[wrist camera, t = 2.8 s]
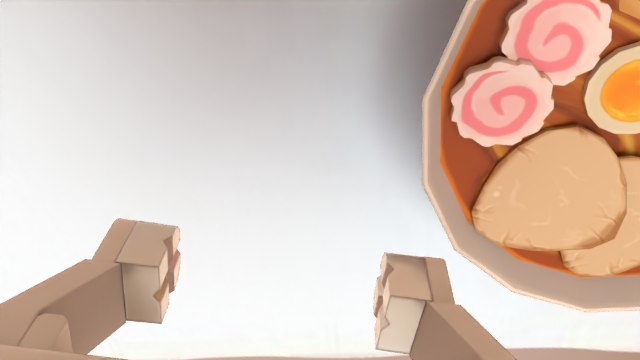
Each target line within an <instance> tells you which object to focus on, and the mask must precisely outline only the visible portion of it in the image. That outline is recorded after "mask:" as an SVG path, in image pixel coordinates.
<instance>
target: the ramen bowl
mask: <svg viewBox="0 0 640 360" xmlns="http://www.w3.org/2000/svg"><path fill="white" fill-rule="evenodd" d="M422 186H423V188H424V190H425V192H426V194H427V196H428V198H429V200H430V202H431V204H432V206H433V208H434V210H435V212H436V214H437V216H438V218H439V220H440V222H441V224H442V226H443V228H444V230H445V232H446V234H447V236H448V238H449V240H450V242H451V244H452V246H453V248H454V250H455V251H457V252H458V253H459V254H461V255H462V256H463V257H465V258H466V259H468V260H469V261H470V262H472V263H473V264H474V265H476V266H477V267H478V268H480V269H481V270H483V271H484V272H485V273H487V274H488V275H489V276H491V277H492V278H494V279H495V280H496V281H498V282H499V283H500V284H502V285H503V286H504V287H506V288H507V289H509V290H510V291H511V292H514V293H518V294H521V295H525V296H528V297H532V298H536V299H539V300H543V301H546V302H550V303H554V304H557V305H561V306H564V307H568V308H572V309H575V310H579V311H583V312H604V311H630V310H640V0H467V2H466V4H465V7H464V9H463V11H462V13H461V15H460V17H459V20H458V22H457V24H456V26H455V28H454V30H453V33H452V35H451V37H450V39H449V41H448V44H447V46H446V48H445V50H444V52H443V54H442V57H441V59H440V61H439V63H438V65H437V68H436V70H435V72H434V74H433V76H432V78H431V81H430V83H429V85H428V87H427V89H426V92H425V94H424V96H423V98H422Z"/></svg>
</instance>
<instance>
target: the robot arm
mask: <svg viewBox="0 0 640 360" xmlns="http://www.w3.org/2000/svg"><path fill="white" fill-rule="evenodd" d="M179 241H180V229H179V227H178V226H171V225H164V224H157V223H151V222H144V221H135V220H128V219H121V218H118V219H117V220H115V221H114V223H113V224H112V226H111V228H110V229H109V231H108V233H107V234H106V236H105V238H104V239H103V241H102V243H101V244H100V246H99V248H98V250H97V251H96V253H95V255H94V256H93V258H92V260H88V259H85V260H83V261H81V262H79V263H77V264H75V265H74V266H72V267H70V268H68V269H66V270H64V271H62V272H60V273H58V274H56V275H55V276H53V277H51V278H49V279H47V280H45V281H43V282H41V283H39V284H37V285H36V286H34V287H32V288H30V289H28V290H26V291H24V292H22V293H20V294H18V295H17V296H15V297H13V298H11V299H9V300H7V301H5V302H3V303H1V304H0V360H127V359H119V358H110V357H102V356H93V355H86V354H88V353H89V352H90V351H91V350H93V349H94V348H95V347H96V346H97V345H99V344H100V343H101V342H102V341H104V340H105V339H106V338H107V337H109V336H110V335H111V334H112V333H113V332H115V331H116V330H117V329H118V328H120V327H121V326H122V325H123V324H125V323H126V320H127V321H137V322H148V323H159V324H161V323H162V321H163V318H164V315H165V313H166V310H167V308H168V305H169V293H171V292H172V291H174V289H175V286H176V283H177V280H178V275H179V271H180V252H179V251H178V250H177V246H178V244H179ZM374 315H375V317H376V318H377V320H376V324H375V328H374V329H375V345H376V350H383V351H390V352H397V353H404V354H410V357H411V359H412V360H516V359H515V358H514V357H513V356H512V355H511V354H510V353H509V352H508V351H507V350H506V349H505V348H504V347H503V346H502V345H501V344H500V343H499V342H498V341H497V340H496V339H495V338H494V337H493V336H492V335H491V334H490V333H489V332H488V331H487V330H486V329H485V328H484V327H483V326H482V325H480V324H479V323H478V322H477V321H476V320H475V319H474V318H473V317H472V316H471V315H470V314H469V313H468V312H467V311H466V310H465V309H464V308H463V307H462V306H461V305H455V302H454V298H453V293H452V289H451V284H450V280H449V276H448V271H447V267H446V263H445V261H444V259H441V258H432V257H418V256H409V255H401V254H393V253H384V255H383V257H382V261H381V275H380V276H379V277H378V278H377V282H376V286H375V293H374Z"/></svg>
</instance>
